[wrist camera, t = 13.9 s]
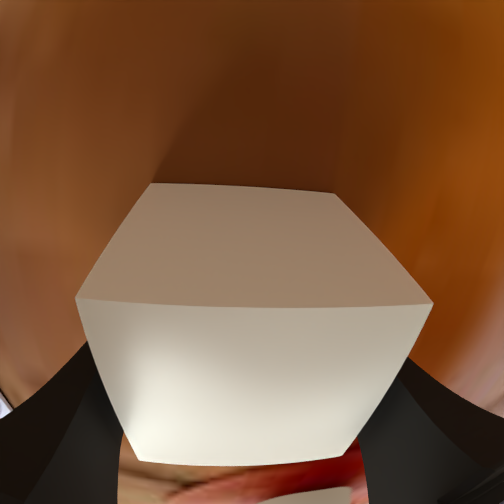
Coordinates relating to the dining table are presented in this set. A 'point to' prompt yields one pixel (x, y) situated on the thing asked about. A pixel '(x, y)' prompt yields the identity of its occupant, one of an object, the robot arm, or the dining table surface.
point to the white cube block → (246, 324)
